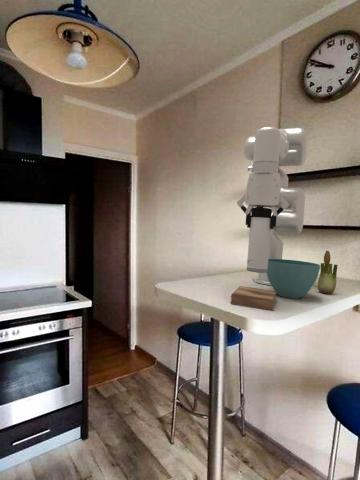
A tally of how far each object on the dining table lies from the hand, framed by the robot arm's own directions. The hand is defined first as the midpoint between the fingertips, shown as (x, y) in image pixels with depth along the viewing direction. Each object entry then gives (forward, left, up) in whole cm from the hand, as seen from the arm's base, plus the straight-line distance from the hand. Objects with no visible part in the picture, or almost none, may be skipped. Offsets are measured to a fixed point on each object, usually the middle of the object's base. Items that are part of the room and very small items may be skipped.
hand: (260, 227), depth 89 cm
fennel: (-47, +24, -24) cm, 58 cm away
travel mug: (0, 0, -14) cm, 14 cm away
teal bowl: (-18, +10, -24) cm, 31 cm away
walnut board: (0, 0, -23) cm, 23 cm away
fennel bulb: (-32, +23, -24) cm, 46 cm away
